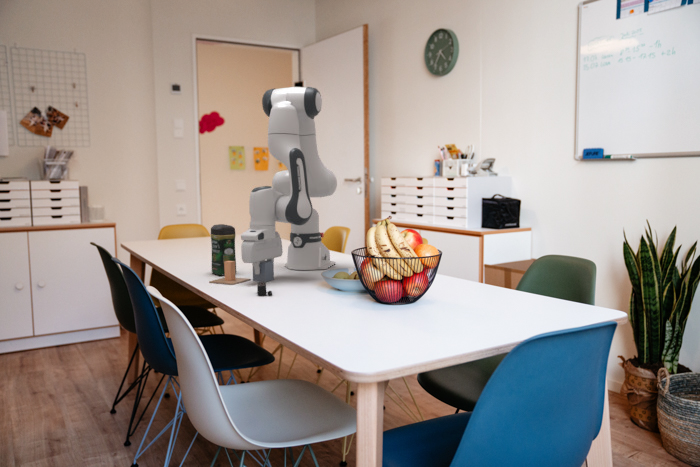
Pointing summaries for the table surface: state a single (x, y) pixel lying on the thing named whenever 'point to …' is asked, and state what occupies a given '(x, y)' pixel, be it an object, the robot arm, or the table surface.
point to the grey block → (264, 271)
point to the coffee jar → (222, 247)
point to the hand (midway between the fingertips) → (263, 272)
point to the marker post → (229, 275)
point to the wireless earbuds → (262, 289)
